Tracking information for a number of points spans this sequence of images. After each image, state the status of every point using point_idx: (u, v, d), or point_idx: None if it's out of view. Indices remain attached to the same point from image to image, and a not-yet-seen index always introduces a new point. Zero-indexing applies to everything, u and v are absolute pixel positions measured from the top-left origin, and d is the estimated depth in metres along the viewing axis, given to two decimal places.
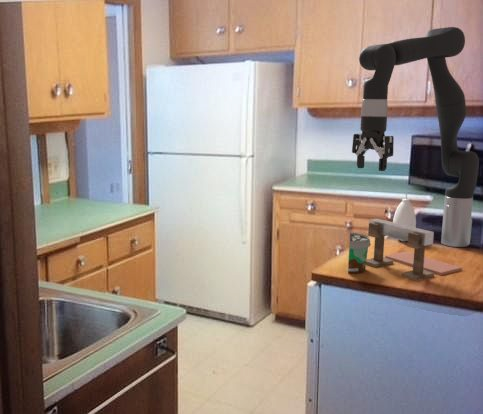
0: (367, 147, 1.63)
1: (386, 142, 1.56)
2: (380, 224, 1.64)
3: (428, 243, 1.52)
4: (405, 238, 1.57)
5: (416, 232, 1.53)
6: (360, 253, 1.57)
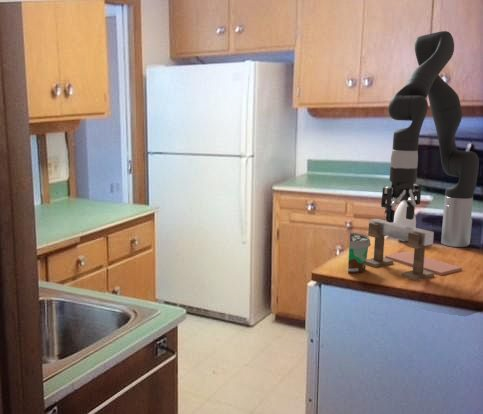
0: (402, 199, 1.57)
1: (419, 191, 1.61)
2: (380, 224, 1.64)
3: (428, 243, 1.52)
4: (405, 238, 1.57)
5: (416, 232, 1.53)
6: (360, 252, 1.57)
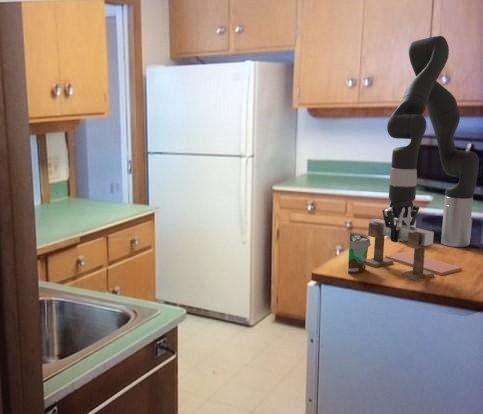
0: (403, 215, 1.59)
1: (416, 212, 1.62)
2: (380, 224, 1.64)
3: (428, 243, 1.52)
4: (405, 238, 1.57)
5: (416, 232, 1.53)
6: (360, 253, 1.57)
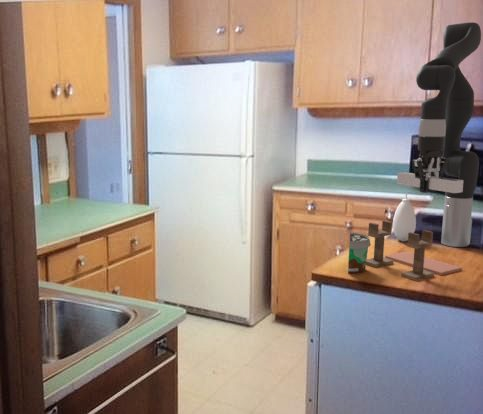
0: (432, 165, 1.62)
1: (445, 163, 1.65)
2: (409, 176, 1.68)
3: (458, 191, 1.56)
4: (435, 187, 1.60)
5: (446, 181, 1.57)
6: (360, 252, 1.57)
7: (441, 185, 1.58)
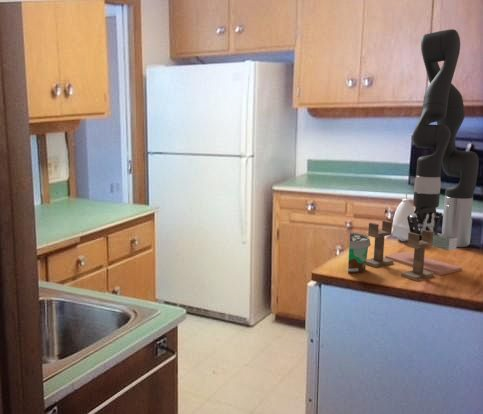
0: (427, 221, 1.66)
1: (439, 218, 1.68)
2: (404, 229, 1.71)
3: (451, 248, 1.59)
4: None
5: (440, 237, 1.60)
6: (360, 252, 1.57)
7: (435, 242, 1.62)
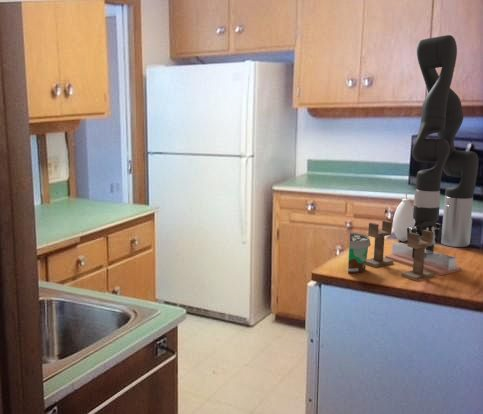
0: None
1: (440, 229, 1.69)
2: (404, 248, 1.72)
3: (451, 268, 1.60)
4: (428, 263, 1.65)
5: (439, 258, 1.61)
6: (360, 252, 1.57)
7: (435, 262, 1.63)
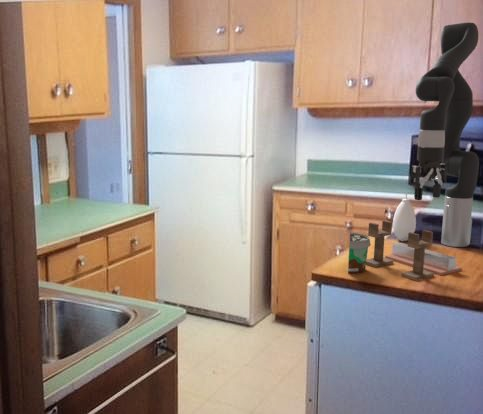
0: (429, 177, 1.63)
1: (445, 169, 1.66)
2: (404, 248, 1.72)
3: (451, 268, 1.60)
4: (428, 263, 1.65)
5: (439, 258, 1.61)
6: (360, 252, 1.57)
7: (435, 262, 1.63)
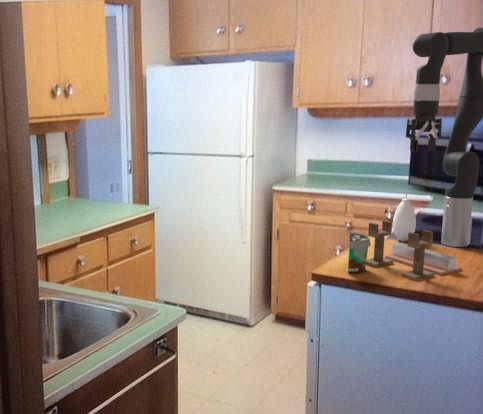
0: (425, 130, 1.70)
1: (440, 124, 1.74)
2: (404, 248, 1.72)
3: (451, 268, 1.60)
4: (428, 263, 1.65)
5: (439, 258, 1.61)
6: (360, 252, 1.57)
7: (435, 262, 1.63)
